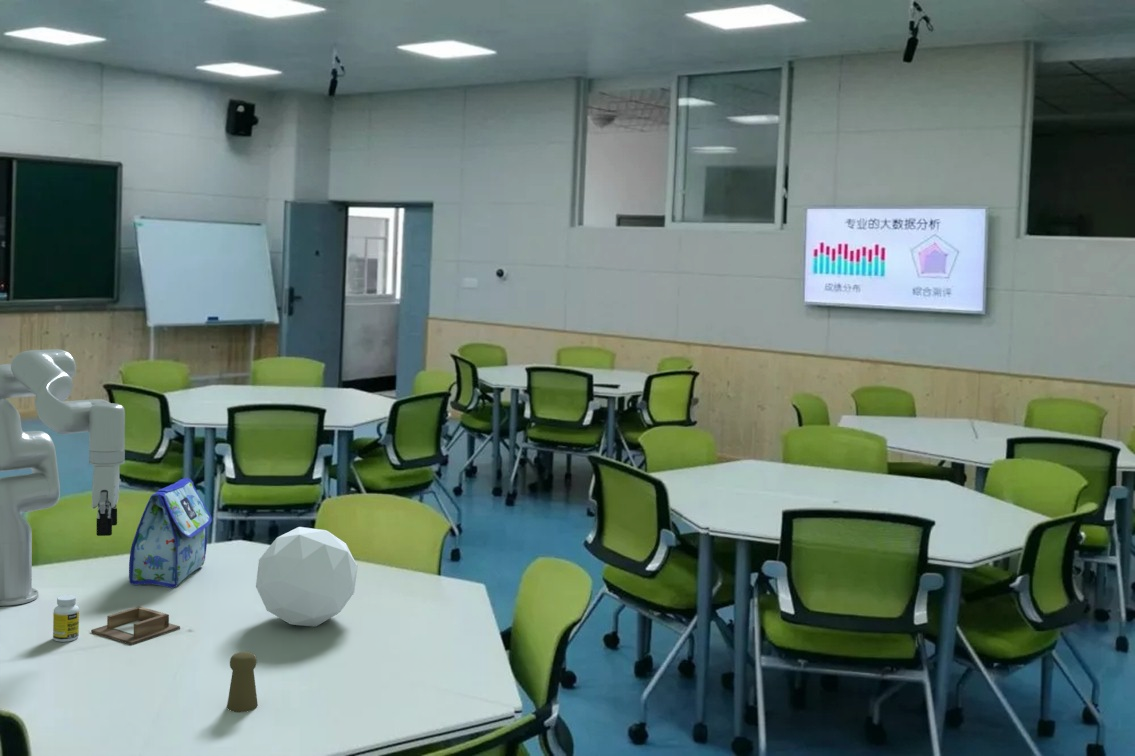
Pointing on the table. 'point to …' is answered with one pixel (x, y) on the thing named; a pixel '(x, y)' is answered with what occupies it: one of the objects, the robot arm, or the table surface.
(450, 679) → the table surface
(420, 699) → the table surface
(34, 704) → the table surface
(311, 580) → the geometric polyhedron
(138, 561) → the lunch bag
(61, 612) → the supplement bottle
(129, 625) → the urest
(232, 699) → the olive game pawn
